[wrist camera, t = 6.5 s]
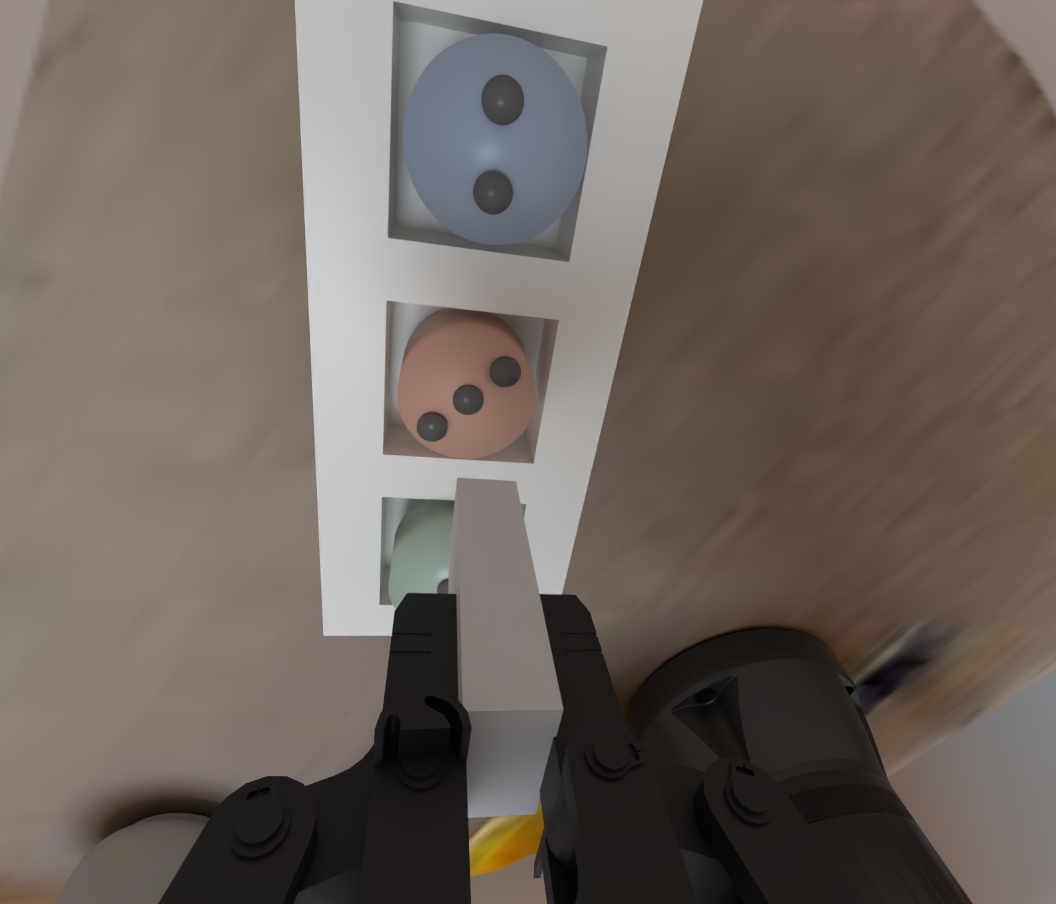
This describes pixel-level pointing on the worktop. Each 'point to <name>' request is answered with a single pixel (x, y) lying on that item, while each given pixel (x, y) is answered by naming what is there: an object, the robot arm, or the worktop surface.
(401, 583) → the one pip button
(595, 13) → the button panel
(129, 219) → the worktop surface
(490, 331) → the three pip button
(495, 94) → the two pip button
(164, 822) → the teacup
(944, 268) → the worktop surface
